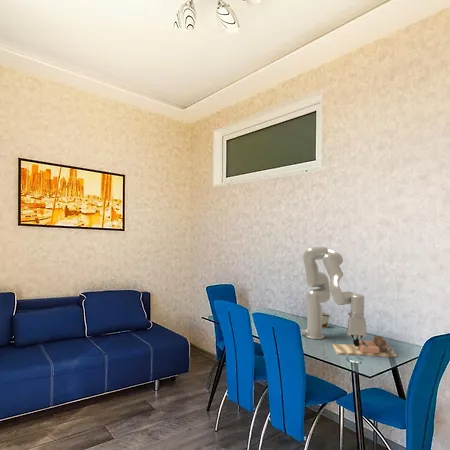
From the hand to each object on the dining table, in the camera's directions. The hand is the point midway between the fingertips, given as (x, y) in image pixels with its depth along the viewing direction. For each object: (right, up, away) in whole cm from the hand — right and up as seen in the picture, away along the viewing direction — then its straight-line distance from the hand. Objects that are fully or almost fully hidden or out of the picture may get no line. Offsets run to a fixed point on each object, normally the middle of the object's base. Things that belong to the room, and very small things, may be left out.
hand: (356, 345), depth 204 cm
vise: (+4, -3, 0) cm, 5 cm away
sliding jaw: (+7, -2, -1) cm, 7 cm away
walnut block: (+13, -2, -1) cm, 14 cm away
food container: (-8, -3, +49) cm, 50 cm away
